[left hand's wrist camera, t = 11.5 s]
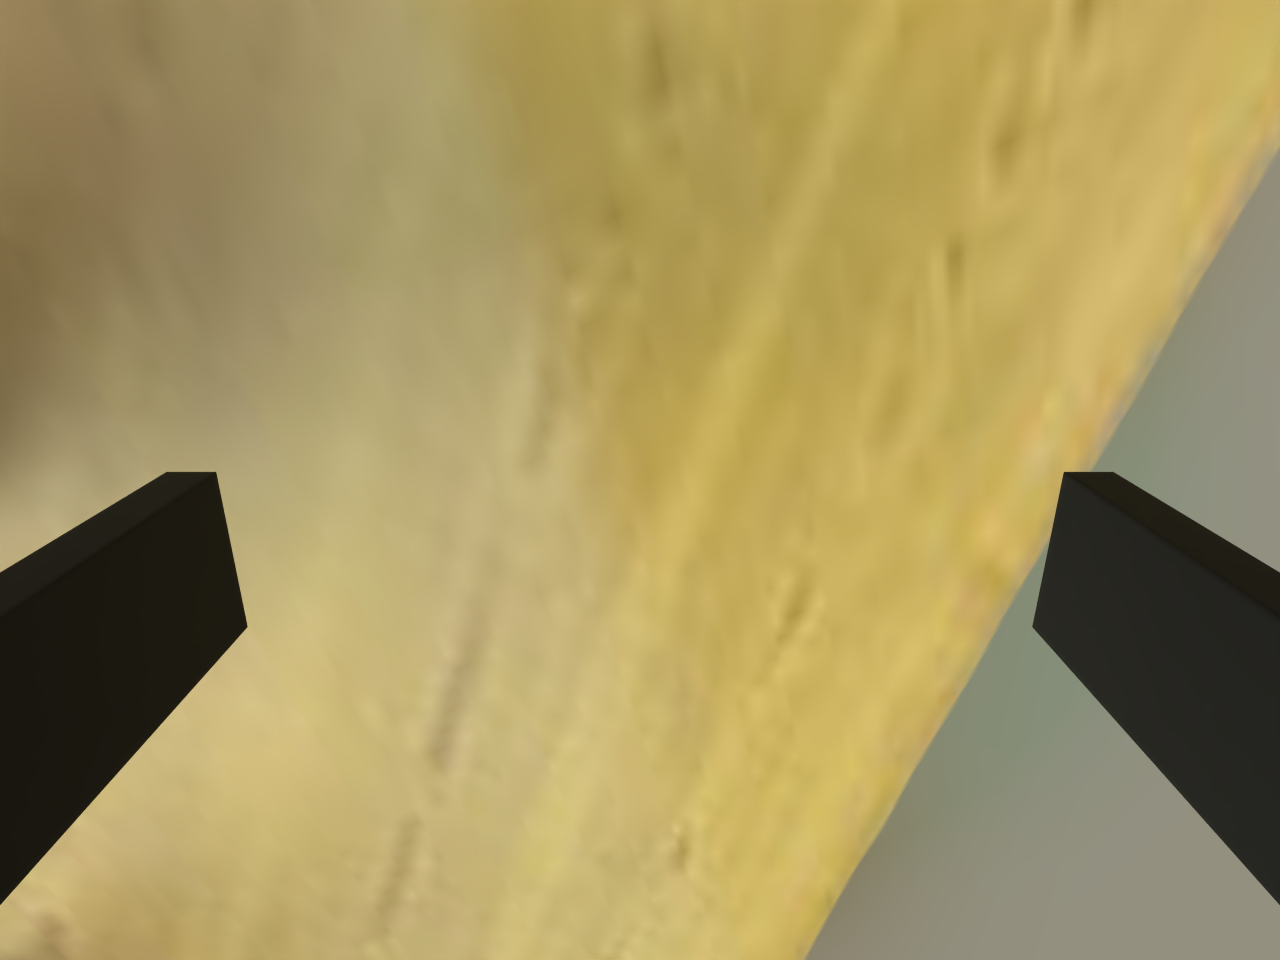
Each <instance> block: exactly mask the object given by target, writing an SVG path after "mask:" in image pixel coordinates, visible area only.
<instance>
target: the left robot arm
mask: <svg viewBox="0 0 1280 960" xmlns="http://www.w3.org/2000/svg"><path fill="white" fill-rule="evenodd" d="M247 627H248V626H247V622H246V617H245V612H244V607H243V602H242V597H241V592H240V587H239V582H238V577H237V572H236V568H235V563H234V558H233V553H232V548H231V543H230V538H229V533H228V528H227V523H226V518H225V513H224V509H223V504H222V499H221V494H220V489H219V484H218V479H217V474H216V472H166V473H164V474H163V475H161V476H159V477H158V478H156V479H154V480H153V481H151V482H149V483H148V484H146V485H144V486H143V487H141V488H139V489H138V490H136V491H134V492H133V493H131V494H129V495H128V496H126V497H124V498H123V499H121V500H120V501H118V502H116V503H115V504H113V505H111V506H110V507H108V508H106V509H105V510H103V511H101V512H100V513H98V514H96V515H95V516H93V517H91V518H90V519H88V520H86V521H85V522H83V523H81V524H80V525H78V526H77V527H75V528H73V529H72V530H70V531H68V532H67V533H65V534H63V535H62V536H60V537H58V538H57V539H55V540H53V541H52V542H50V543H48V544H47V545H45V546H43V547H42V548H40V549H38V550H37V551H35V552H34V553H32V554H30V555H29V556H27V557H25V558H24V559H22V560H20V561H19V562H17V563H15V564H14V565H12V566H10V567H9V568H7V569H5V570H4V571H2V572H0V905H1V904H2V902H3V901H4V900H5V899H6V898H7V897H8V896H9V895H10V893H11V892H12V891H13V890H14V889H15V888H16V887H17V886H18V884H19V883H20V882H21V881H22V880H23V879H24V878H25V877H26V875H27V874H28V873H29V872H30V871H31V870H32V869H33V868H34V866H35V865H36V864H37V863H38V862H39V861H40V860H41V859H42V857H43V856H44V855H45V854H46V853H47V852H48V851H49V850H50V848H51V847H52V846H53V845H54V844H55V843H56V842H57V841H58V839H59V838H60V837H61V836H62V835H63V834H64V833H65V832H66V830H67V829H68V828H69V827H70V826H71V825H72V824H73V823H74V821H75V820H76V819H77V818H78V817H79V816H80V815H81V814H82V812H83V811H84V810H85V809H86V808H87V807H88V806H89V805H90V803H91V802H92V801H93V800H94V799H95V798H96V797H97V796H98V794H99V793H100V792H101V791H102V790H103V789H104V788H105V787H106V786H107V784H108V783H109V782H110V781H111V780H112V779H113V778H114V777H115V775H116V774H117V773H118V772H119V771H120V770H121V769H122V768H123V766H124V765H125V764H126V763H127V762H128V761H129V760H130V759H131V757H132V756H133V755H134V754H135V753H136V752H137V751H138V750H139V748H140V747H141V746H142V745H143V744H144V743H145V742H146V741H147V739H148V738H149V737H150V736H151V735H152V734H153V733H154V732H155V730H156V729H157V728H158V727H159V726H160V725H161V724H162V723H163V721H164V720H165V719H166V718H167V717H168V716H169V715H170V714H171V712H172V711H173V710H174V709H175V708H176V707H177V706H178V705H179V703H180V702H181V701H182V700H183V699H184V698H185V697H186V696H187V694H188V693H189V692H190V691H191V690H192V689H193V688H194V687H195V685H196V684H197V683H198V682H199V681H200V680H201V679H202V678H203V676H204V675H205V674H206V673H207V672H208V671H209V670H210V669H211V667H212V666H213V665H214V664H215V663H216V662H217V661H218V660H219V658H220V657H221V656H222V655H223V654H224V653H225V652H226V651H227V650H228V648H229V647H230V646H231V645H232V644H233V643H234V642H235V641H236V639H237V638H238V637H239V636H240V635H241V634H242V633H243V632H244V630H245V629H246V628H247ZM1033 628H1034V629H1035V630H1036V632H1037V633H1038V634H1039V635H1040V636H1041V637H1042V638H1043V639H1044V641H1045V642H1046V643H1047V644H1048V645H1049V646H1050V647H1051V648H1052V649H1053V651H1054V652H1055V653H1056V654H1057V655H1058V656H1059V657H1060V658H1061V660H1062V661H1063V662H1064V663H1065V664H1066V665H1067V666H1068V667H1069V669H1070V670H1071V671H1072V672H1073V673H1074V674H1075V675H1076V676H1077V678H1078V679H1079V680H1080V681H1081V682H1082V683H1083V684H1084V685H1085V687H1086V688H1087V689H1088V690H1089V691H1090V692H1091V693H1092V694H1093V696H1094V697H1095V698H1096V699H1097V700H1098V701H1099V702H1100V703H1101V705H1102V706H1103V707H1104V708H1105V709H1106V710H1107V711H1108V712H1109V714H1110V715H1111V716H1112V717H1113V718H1114V719H1115V720H1116V721H1117V723H1118V724H1119V725H1120V726H1121V727H1122V728H1123V729H1124V730H1125V732H1126V733H1127V734H1128V735H1129V736H1130V737H1131V738H1132V739H1133V741H1134V742H1135V743H1136V744H1137V745H1138V746H1139V747H1140V748H1141V750H1142V751H1143V752H1144V753H1145V754H1146V755H1147V756H1148V757H1149V758H1150V760H1151V761H1152V762H1153V763H1154V764H1155V765H1156V766H1157V767H1158V769H1159V770H1160V771H1161V772H1162V773H1163V774H1164V775H1165V777H1166V778H1167V779H1168V780H1169V781H1170V782H1171V783H1172V784H1173V786H1174V787H1175V788H1176V789H1177V790H1178V791H1179V792H1180V793H1181V794H1182V796H1183V797H1184V798H1185V799H1186V800H1187V801H1188V802H1189V803H1190V805H1191V806H1192V807H1193V808H1194V809H1195V810H1196V811H1197V812H1198V814H1199V815H1200V816H1201V817H1202V818H1203V819H1204V820H1205V821H1206V823H1207V824H1208V825H1209V826H1210V827H1211V828H1212V829H1213V830H1214V832H1215V833H1216V834H1217V835H1218V836H1219V837H1220V838H1221V839H1222V841H1223V842H1224V843H1225V844H1226V845H1227V846H1228V847H1229V848H1230V850H1231V851H1232V852H1233V853H1234V854H1235V855H1236V856H1237V857H1238V859H1239V860H1240V861H1241V862H1242V863H1243V864H1244V865H1245V866H1246V867H1247V869H1248V870H1249V871H1250V872H1251V873H1252V874H1253V875H1254V877H1255V878H1256V879H1257V880H1258V881H1259V882H1260V883H1261V884H1262V886H1263V887H1264V888H1265V889H1266V890H1267V891H1268V892H1269V893H1270V895H1271V896H1272V897H1273V898H1274V899H1275V900H1276V901H1277V902H1278V904H1279V905H1280V572H1278V571H1276V570H1275V569H1273V568H1271V567H1270V566H1268V565H1266V564H1265V563H1263V562H1261V561H1260V560H1258V559H1256V558H1255V557H1253V556H1251V555H1250V554H1248V553H1246V552H1245V551H1243V550H1242V549H1240V548H1238V547H1237V546H1235V545H1233V544H1232V543H1230V542H1228V541H1227V540H1225V539H1223V538H1222V537H1220V536H1218V535H1217V534H1215V533H1213V532H1212V531H1210V530H1208V529H1207V528H1205V527H1203V526H1202V525H1200V524H1199V523H1197V522H1195V521H1194V520H1192V519H1190V518H1189V517H1187V516H1185V515H1184V514H1182V513H1180V512H1179V511H1177V510H1175V509H1174V508H1172V507H1170V506H1169V505H1167V504H1165V503H1164V502H1162V501H1160V500H1159V499H1157V498H1155V497H1154V496H1152V495H1151V494H1149V493H1147V492H1146V491H1144V490H1142V489H1141V488H1139V487H1137V486H1136V485H1134V484H1132V483H1131V482H1129V481H1127V480H1126V479H1124V478H1122V477H1121V476H1119V475H1117V474H1116V473H1114V472H1064V474H1063V479H1062V484H1061V489H1060V494H1059V499H1058V504H1057V509H1056V513H1055V518H1054V523H1053V528H1052V533H1051V538H1050V543H1049V548H1048V553H1047V558H1046V563H1045V568H1044V573H1043V577H1042V582H1041V587H1040V592H1039V597H1038V602H1037V607H1036V612H1035V617H1034V622H1033Z"/></svg>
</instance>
